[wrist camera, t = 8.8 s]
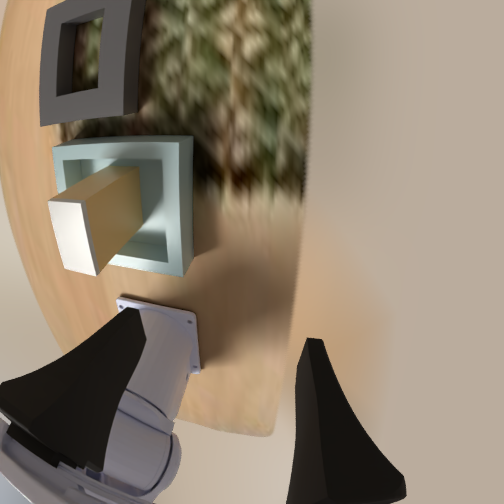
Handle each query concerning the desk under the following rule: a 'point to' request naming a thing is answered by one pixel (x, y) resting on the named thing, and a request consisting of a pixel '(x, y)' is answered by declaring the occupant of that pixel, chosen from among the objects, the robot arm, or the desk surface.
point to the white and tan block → (97, 217)
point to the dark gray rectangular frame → (110, 61)
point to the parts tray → (143, 193)
